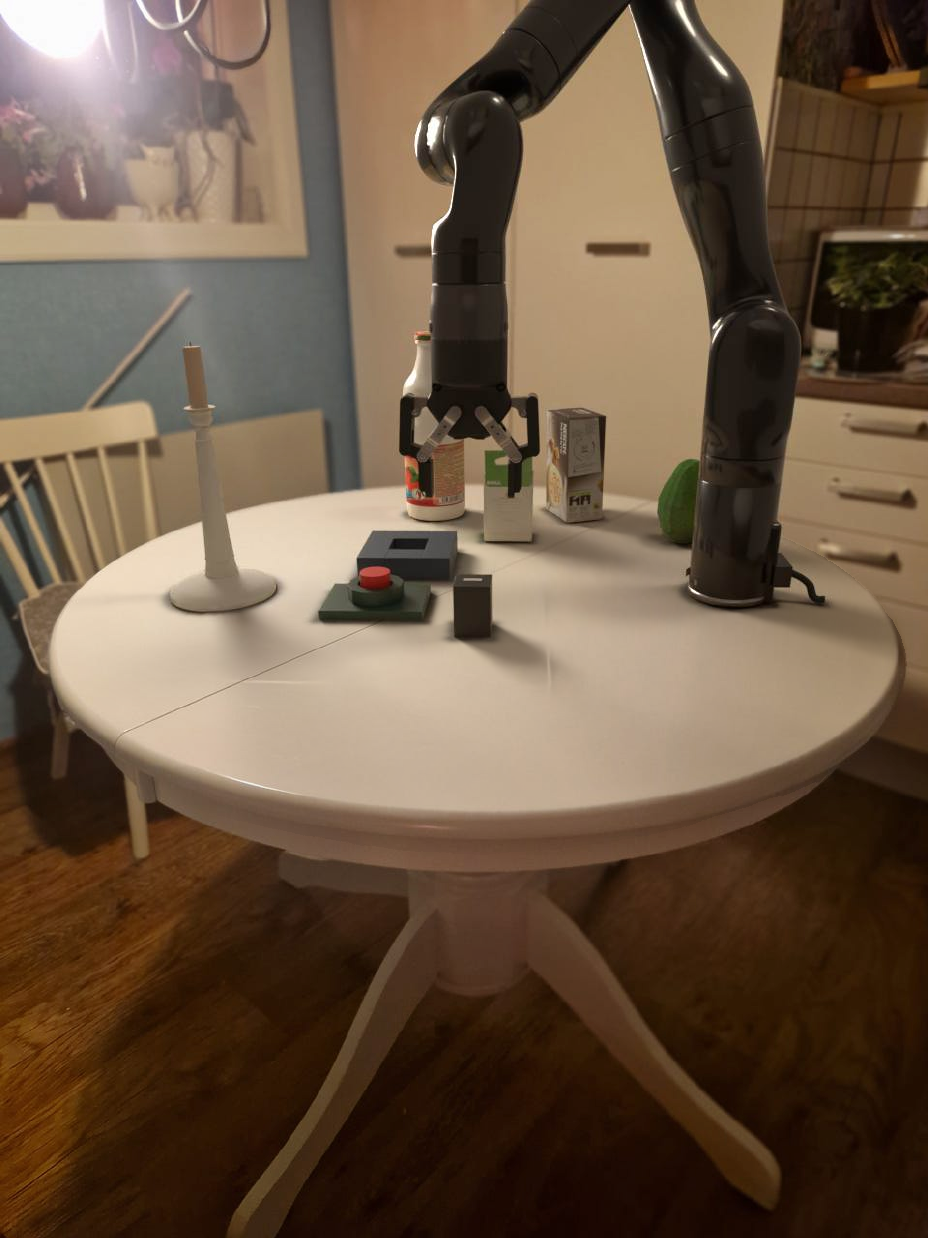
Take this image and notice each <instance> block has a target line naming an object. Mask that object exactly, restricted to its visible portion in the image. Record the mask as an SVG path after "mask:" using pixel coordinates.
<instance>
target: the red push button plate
mask: <svg viewBox="0 0 928 1238" xmlns="http://www.w3.org/2000/svg"><path fill="white" fill-rule="evenodd" d="M390 576H391V586H389V587H387V588H381V589H365V588H361V587H360V576H358V575H357V576H356V577H354V578H351V579H350V580H349V581H348V582H347V583H334V584H333V585H332V587H331V589H330V591H329V592H328V594H327V595H326V597H325V599H324V600H323V602H322V604H321V605H320V607H319V608H318V610H317V611H318V613H317V614H318V620H320V621H321V620H324V621H325V620H326V621H329V620H330V621H399V622H400V621H405V622H408V621H409V622H410V621H412V622H413V621H414V622H423V620H424V617H425V613H426V611H427V607H428V604H429V600H430V598H431V594H432V587H431V586H432V584H430V583H427V584H425V583H424V584H423V583H405V580H402V579H401V578H400V577H399V576H395V575H391V574H390Z"/></svg>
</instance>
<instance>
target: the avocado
mask: <svg viewBox="0 0 928 1238" xmlns="http://www.w3.org/2000/svg"><path fill="white" fill-rule="evenodd" d="M699 464H700V459H696V458H688V459H684V460H682V461H681V462H679V463H678V464H677V465H676V467H675V468H674V469H673V471H672V473H671V474H670V476H669V478H668V479H667V480H666V482H665V484H664V486H663V488H662V490H661V492H660V495H659V497H658V501H657V502H658V503H657V509H656V510H657V511H656V514H657V518H658V522H659V527H660V529H661V531H662V533H663V534H664V535H665V537H666V538H667V539H669V540H670V541H672V542H674V543H678V544H682V545H683V544H690V543H691V544H692V542H693V530H694V519H695V508H696V497H697V486H698V475H699Z"/></svg>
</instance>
